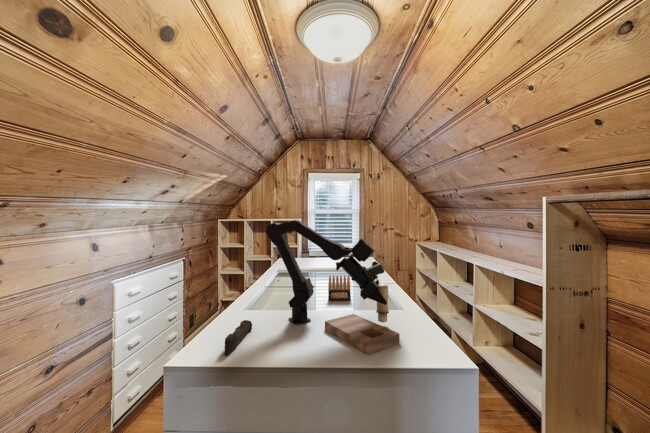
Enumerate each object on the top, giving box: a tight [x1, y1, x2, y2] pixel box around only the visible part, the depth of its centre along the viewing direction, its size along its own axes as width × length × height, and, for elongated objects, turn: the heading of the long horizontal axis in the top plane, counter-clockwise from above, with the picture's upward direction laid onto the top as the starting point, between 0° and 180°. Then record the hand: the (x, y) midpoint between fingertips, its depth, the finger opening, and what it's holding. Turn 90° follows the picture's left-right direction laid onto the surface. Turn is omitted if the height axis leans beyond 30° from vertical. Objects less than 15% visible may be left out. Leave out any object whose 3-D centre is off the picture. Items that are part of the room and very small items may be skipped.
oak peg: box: [376, 283, 390, 323], centre depth 100 cm, size 4×4×12 cm
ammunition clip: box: [327, 274, 352, 302], centre depth 132 cm, size 11×2×12 cm, turn 89°
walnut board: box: [324, 313, 400, 356], centre depth 91 cm, size 22×13×3 cm, turn 34°
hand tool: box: [224, 319, 253, 357], centre depth 88 cm, size 19×4×5 cm, turn 176°
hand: (386, 302), depth 100 cm, fingers closed on oak peg, 4 cm apart
